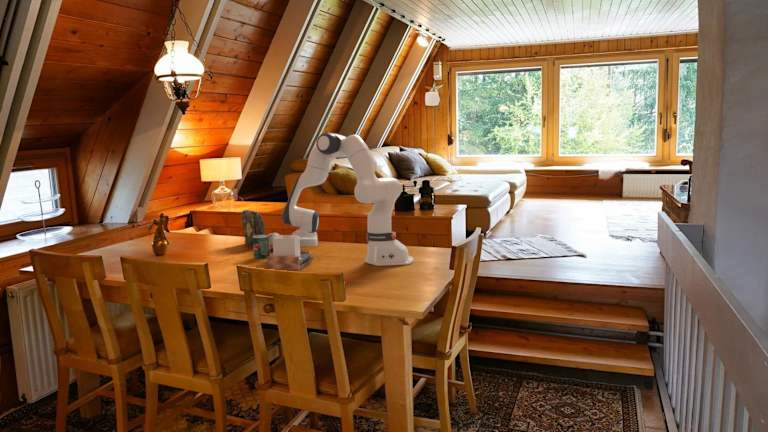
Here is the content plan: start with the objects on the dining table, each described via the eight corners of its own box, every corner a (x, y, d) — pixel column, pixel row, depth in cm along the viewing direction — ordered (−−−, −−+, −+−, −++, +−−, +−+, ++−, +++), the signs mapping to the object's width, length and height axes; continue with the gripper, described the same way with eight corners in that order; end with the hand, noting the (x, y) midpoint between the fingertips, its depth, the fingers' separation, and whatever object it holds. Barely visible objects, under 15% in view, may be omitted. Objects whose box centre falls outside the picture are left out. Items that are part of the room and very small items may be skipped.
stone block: (270, 246, 316) (268, 209, 313) (257, 249, 309) (254, 212, 306) (251, 242, 328) (248, 207, 325) (237, 245, 321) (234, 209, 318)
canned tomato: (273, 256, 290) (272, 235, 288) (263, 260, 283) (262, 238, 281) (260, 255, 293) (259, 234, 292) (250, 259, 286) (249, 237, 285)
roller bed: (313, 259, 280) (312, 245, 279) (297, 273, 255) (297, 258, 254) (285, 259, 282) (284, 245, 281) (267, 273, 257) (266, 257, 256)
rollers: (310, 257, 280) (310, 251, 279) (298, 267, 259) (298, 261, 259) (286, 257, 281) (286, 250, 281) (272, 267, 261) (271, 261, 260)
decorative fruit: (279, 251, 302) (278, 232, 300) (264, 251, 302) (262, 232, 301) (284, 247, 311) (283, 229, 309) (269, 247, 312) (268, 229, 310)
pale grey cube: (300, 256, 266) (299, 235, 265) (295, 260, 258) (294, 238, 257) (279, 256, 268) (278, 235, 266) (273, 260, 260) (272, 238, 258)
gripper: (279, 232, 284) (269, 238, 271) (319, 232, 282) (312, 238, 268) (279, 245, 285) (270, 251, 272) (320, 245, 283) (313, 251, 269)
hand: (291, 244), depth 270 cm, fingers closed
